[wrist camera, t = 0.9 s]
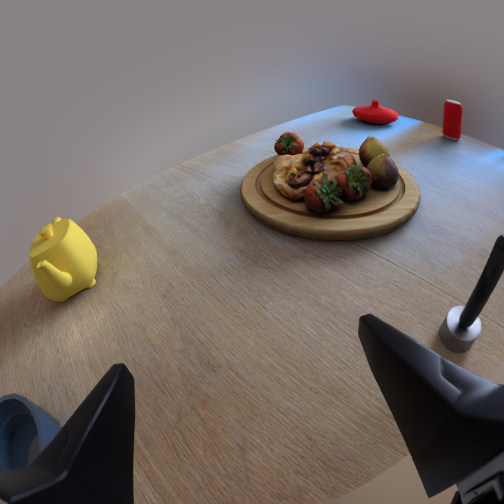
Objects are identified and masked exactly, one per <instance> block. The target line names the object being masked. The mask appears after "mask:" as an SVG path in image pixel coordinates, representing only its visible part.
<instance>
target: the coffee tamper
mask: <svg viewBox="0 0 504 504" xmlns="http://www.w3.org/2000/svg"><path fill="white" fill-rule="evenodd" d="M503 271H504V235H501V236H499V237H498V238H497V240H496V242H495V245H494V247H493V249H492V252H491V254H490V257H489V259H488V261H487V263H486V266H485V268H484V270H483V272H482V274H481V276H480V278H479V280H478V282H477V284H476V286H475V288H474V290H473V292H472V294H471V296H470V298H469V300H468V302H467V304H466V305H465V306H456V307H454V308H452V309H451V310H450V311H449V312H448V314H447V316H446V318H445V320H444V322H443V323H442V325H441V327H440V337H441V340H442V342H443V344H444V345H445V346H446V347H447V348H448V349H450V350H452V351H454V352H464V351H466V350H467V349H469V348H470V346H471V345H472V344H473V343H474V341H475V340H476V339H477V337H478V336H479V334H480V332H481V322H480V319H479V317H478V315H479V314H480V312H481V311H482V309H483V307H484V306H485V304H486V302H487V300H488V299H489V297H490V295H491V293H492V292H493V290H494V288H495V286H496V284H497V282H498V281H499V279H500V277H501V275H502V273H503Z"/></svg>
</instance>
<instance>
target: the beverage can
mask: <svg viewBox="0 0 504 504" xmlns="http://www.w3.org/2000/svg"><path fill="white" fill-rule="evenodd" d="M462 115H463V108H462V105H461V104H460V103H459V102H456V101H452V100H447V101H446V102H445V104H444V120H443V135H444V136H445V137H446V138H448V139H451V140H458V139H460V136H461V127H462Z"/></svg>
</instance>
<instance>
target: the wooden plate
mask: <svg viewBox="0 0 504 504" xmlns="http://www.w3.org/2000/svg"><path fill="white" fill-rule="evenodd" d="M276 141H277V142H276V143H275V146H274V148H275V151H276V152H277V154H278V155H275V156H272V157H270V158H268V159H266V160H264V161H262V162H261V163H259V164H258V165H256V166H255V167H253V168H252V169H251V170H250V171H249V172H248V173H247V175H246V176H245V178H244V180H243V182H242V184H241V190H240V195H241V199H242V201H243V203H244V205H245V207H246V208H247V210H248V211H249V212H250V213H251V214H252V215H253V216H254V217H255V218H257V219H258V220H259V221H261V222H263V223H264V224H266V225H268V226H270V227H273V228H275V229H277V230H280V231H283V232H286V233H289V234H293V235H296V236H301V237H307V238H314V239H324V240H353V239H361V238H367V237H372V236H377V235H381V234H384V233H387V232H390V231H392V230H394V229H396V228H398V227H400V226H402V225H403V224H405V223H406V222H407V221H408V220H409V219H411V218H412V216H413V215H414V214H415V212H416V211H417V209H418V206H419V203H420V191H419V187H418V185H417V183H416V181H415V179H414V178H413V177H412V175H411V174H410V173H409V172H408V171H406V170H405V169H404V168H403V167H401V166H400V165H398V164H397V163H395V162H394V161H393V160H392V159H391V158H390V156H389V152H388V150H387V148H386V147H385V146H384V145H383V143H382V142H380V141H379V140H378V139H376V138H374V137H368V138H367V139H366V140H365V141H364V142H363V144H362V145H361V146H360V149H353V148H345V147H336V145H335V144H333V143H330V142H325V141H324V142H323V144H322V146H321V145H320V144H319V143H316V144H314V145H313V146H312V147H310V148H304V144H303V142H302V140H301V139H300V137H298V136H297V135H296V134H295V133H291V132H287V133H284V134H282V135H281V136H280V138H279V139H278V140H276Z"/></svg>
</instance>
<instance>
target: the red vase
mask: <svg viewBox="0 0 504 504" xmlns="http://www.w3.org/2000/svg"><path fill="white" fill-rule="evenodd" d="M352 112H353V115H354V116H355V117H357V118H359V119H360V120H363V121H365V122H370V123H378V124H386V123H391V122H394V121H396V120H398V117H399V115H398V114H397V113H396V111H394V110H391V109H388V108H385V107H381V106H379V102H378V101H374V100H373V101H372V105H371V106H360V107H356V108H354V109H353V111H352Z"/></svg>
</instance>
